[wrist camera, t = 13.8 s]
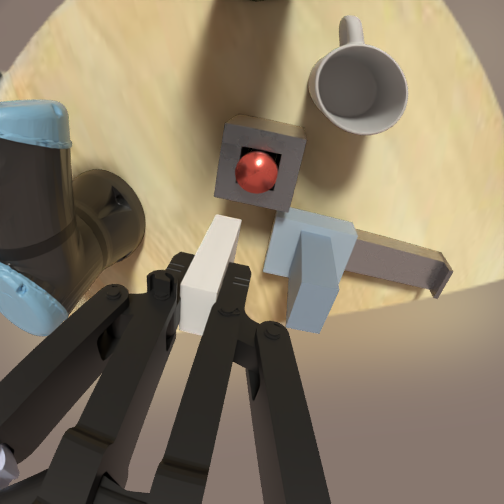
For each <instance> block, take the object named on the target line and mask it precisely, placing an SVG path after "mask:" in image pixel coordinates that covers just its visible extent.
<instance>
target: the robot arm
mask: <svg viewBox="0 0 504 504" xmlns="http://www.w3.org/2000/svg"><path fill="white" fill-rule="evenodd" d="M71 147H72V141H71V140H70V131H69V115H68V111H67V109H66V107H65V106H64V105H63V104H61V103H60V102H58V101H53V100H15V101H4V102H0V312H1V313H2V314H3V315H4V316H5V317H6V318H7V319H8V320H9V321H11V322H12V323H13V324H14V325H16V326H17V327H19V328H20V329H22V330H24V331H26V332H28V333H30V334H33V335H36V336H47V337H46V338H45V339H44V340H43V341H42V342H41V343H40V344H39V345H38V346H37V347H36V348H35V349H33V351H31V352H30V353H29V354H28V355H27V356H26V357H25V358H24V359H23V360H22V361H21V362H20V363H19V364H18V365H17V366H16V367H15V368H14V369H13V370H12V371H11V372H10V373H9V374H8V375H7V376H6V377H5V378H4V379H3V380H2V381H1V382H0V504H202V499H203V494H204V490H205V486H206V481H207V477H208V472H209V467H210V463H211V457H212V453H213V449H214V444H215V440H216V435H217V431H218V426H219V422H220V417H221V413H222V408H223V404H224V399H225V394H226V390H227V385H228V381H229V376H230V372H231V367H232V362H235V363H237V364H239V365H241V366H242V367H245V368H246V377H247V385H248V393H249V400H250V408H251V416H252V423H253V431H254V438H255V445H256V452H257V459H258V466H259V473H260V480H261V487H262V493H263V500H264V504H331V501H330V497H329V493H328V488H327V485H326V480H325V476H324V472H323V467H322V464H321V459H320V456H319V451H318V447H317V443H316V439H315V435H314V431H313V427H312V423H311V418H310V414H309V410H308V406H307V402H306V399H305V395H304V391H303V387H302V383H301V379H300V375H299V371H298V367H297V363H296V359H295V356H294V352H293V348H292V344H291V340H290V336H289V333H288V331H287V329H286V328H285V327H284V326H283V325H282V324H280V323H278V322H274V321H265V322H263V323H261V324H259V323H257V322H255V321H253V320H252V319H250V318H249V317H248V316H247V314H246V313H245V310H244V307H245V302H246V297H247V292H248V287H249V283H250V278H251V271H250V268H249V266H245V265H241V264H236V263H234V259H235V254H236V248H237V243H238V237H239V232H240V227H241V221H242V220H241V219H236V218H232V217H227V216H222V215H217V214H216V216H215V217H214V219H213V221H212V223H211V225H210V227H209V229H208V231H207V233H206V235H205V237H204V239H203V241H202V243H201V245H200V246H199V248H198V250H197V252H196V254H195V255H193V254H189V253H184V252H180V253H178V254H176V255H175V256H174V257H173V258H172V260H171V262H170V264H169V265H168V267H167V269H166V270H156V271H153V272H151V273H149V274H148V275H147V293H143V294H129V292H128V290H127V289H126V288H125V287H124V286H122V285H119V284H111V285H107V286H105V287H104V288H102V289H101V290H100V291H99V292H97V293H96V294H95V295H94V296H93V297H92V298H90V299H89V300H88V301H87V302H86V303H85V304H83V305H82V306H81V307H80V308H79V309H78V310H77V311H75V312H74V313H73V314H72V315H71V316H70V317H69V318H68V315H69V314H70V313H71V311H72V310H73V309H74V307H75V306H76V304H77V303H78V302H79V300H80V299H81V298H82V296H83V295H84V294H85V292H86V291H87V290H88V289H89V287H90V286H91V285H92V283H93V282H94V281H95V279H96V278H97V277H98V276H99V274H100V273H101V272H102V271H103V270H104V269H105V268H107V267H109V266H111V265H113V264H115V263H116V262H119V261H122V260H124V259H125V258H127V257H128V256H129V255H131V254H132V253H133V251H134V250H135V249H136V248H137V246H138V245H139V244H140V242H141V240H142V238H143V235H144V231H145V217H144V212H143V208H142V205H141V203H140V201H139V199H138V197H137V195H136V194H135V192H134V191H133V189H132V188H131V187H130V186H129V185H128V184H127V183H126V182H125V181H124V180H123V179H121V178H120V177H119V176H117V175H115V174H113V173H111V172H108V171H105V170H89V171H86V172H84V173H82V174H80V175H79V176H77V177H76V178H74V179H73V180H72V170H71V151H70V148H71ZM64 320H65V321H64ZM63 321H64V322H63ZM62 322H63V323H62ZM61 323H62V324H61ZM60 324H61V325H60ZM178 325H179V330H181V331H185V332H189V333H193V334H197V335H201V336H202V338H201V341H200V344H199V347H198V350H197V353H196V356H195V359H194V362H193V365H192V368H191V371H190V374H189V378H188V381H187V384H186V387H185V390H184V393H183V396H182V399H181V403H180V406H179V409H178V412H177V415H176V419H175V422H174V425H173V428H172V431H171V435H170V438H169V441H168V445H167V448H166V451H165V454H164V457H163V459H162V461H161V462H160V463H159V466H158V468H157V471H156V474H155V477H154V480H153V484H152V487H151V490H150V493H142V492H132V491H127V490H125V489H124V488H125V485H126V482H127V478H128V467H129V463H130V460H131V457H132V454H133V451H134V448H135V445H136V443H137V440H138V437H139V434H140V432H141V429H142V426H143V423H144V420H145V418H146V415H147V412H148V410H149V407H150V404H151V401H152V399H153V396H154V393H155V390H156V388H157V385H158V383H159V380H160V377H161V375H162V372H163V370H164V367H165V364H166V362H167V359H168V357H169V354H170V351H171V349H172V347H173V344H174V341H175V339H176V329H177V327H178ZM48 335H49V336H48ZM102 372H103V373H102ZM101 373H102V375H101ZM100 375H101V376H100ZM99 376H100V379H99V381H98V383H97V384H96V386H95V388H94V391H93V393H92V394H91V396H90V398H89V400H88V403H87V405H86V407H85V409H84V411H83V413H82V415H81V417H80V419H79V421H78V423H77V425H76V426H75V427H73V428H69V429H68V430H67V431H66V432H65V434H64V435H63V437H62V439H61V441H60V444H59V446H58V448H57V450H56V453H55V455H54V457H53V459H52V462H51V464H50V466H49V469H46V470H44V471H42V472H40V473H38V474H36V475H33V476H31V477H29V478H27V479H24V480H22V481H20V482H18V483H15V484H13V485H11V486H8V485H9V483H10V482H11V481H12V480H13V479H17V478H18V476H19V470H18V467H17V464H18V463H20V462H22V461H23V460H24V459H26V458H27V457H28V456H29V455H31V454H32V453H33V452H34V450H35V449H36V448H37V447H38V446H39V445H40V444H41V443H42V441H43V440H44V439H45V438H46V437H47V436H48V434H49V433H50V432H51V431H52V429H53V428H54V427H55V426H56V425H57V424H58V423H59V421H60V420H61V419H62V418H63V417H64V416H65V414H66V413H67V412H68V411H69V410H70V409H71V407H72V406H73V405H74V404H75V403H76V402H77V401H78V399H79V398H80V397H81V396H82V395H83V394H84V393H85V392H86V390H87V389H88V388H89V387H90V386H91V385H92V384H93V382H94V381H95V380H96V379H97V378H98V377H99Z"/></svg>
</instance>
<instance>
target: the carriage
mask: <svg viewBox="0 0 504 504" xmlns="http://www.w3.org/2000/svg"><path fill="white" fill-rule="evenodd" d="M357 237H358V235H357V232H356V229H355V228H354V225H353V223H352V222H348V221H344V220H340V219H336V218H332V217H328V216H324V215H320V214H316V213H312V212H308V211H303V210H299V209H295V208H291V207H290V209H289V212H288V213H286V212H282V211H278V210H277V211H276V218H275V222H274V226H273V230H272V234H271V238H270V242H269V247H268V251H267V252H266V257H265V263H264V268H263V272H266V273H270V274H275V275H279V276H284V277H288V278H289V281H288V298H287V314H286V327H287V328H292V329H297V330H302V331H307V332H313V333H318V334H319V333H320V331H321V329H322V327H323V324H324V322H325V320H326V318H327V316H328V314H329V312H330V309H331V307H332V305H333V303H334V301H335V298H336V296H337V294H338V292H339V286H338V284H339V282H340V279H341V277H342V275H343V272H344V270H345V267H346V265H347V262H348V260H349V257H350V255H351V252H352V250H353V247H354V245H355V242H356V240H357Z"/></svg>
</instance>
